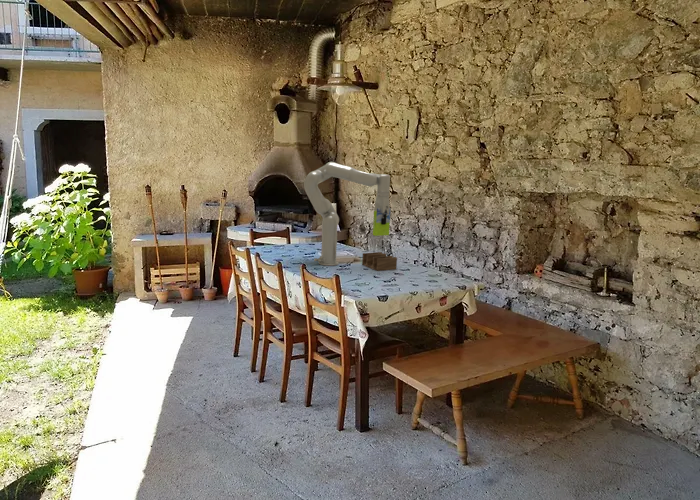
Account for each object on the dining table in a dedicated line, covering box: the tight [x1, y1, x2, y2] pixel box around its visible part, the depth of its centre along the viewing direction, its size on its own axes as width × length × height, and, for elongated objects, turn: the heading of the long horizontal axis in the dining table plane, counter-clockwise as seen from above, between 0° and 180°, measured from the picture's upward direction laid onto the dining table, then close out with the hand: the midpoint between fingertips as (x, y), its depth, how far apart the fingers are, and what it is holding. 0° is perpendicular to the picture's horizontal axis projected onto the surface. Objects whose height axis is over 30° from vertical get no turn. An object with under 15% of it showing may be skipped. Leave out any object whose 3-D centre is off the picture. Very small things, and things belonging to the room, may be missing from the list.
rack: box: [361, 251, 398, 272], centre depth 352 cm, size 18×14×8 cm
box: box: [372, 207, 392, 237], centre depth 347 cm, size 10×4×17 cm, turn 119°
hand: (381, 223), depth 348 cm, fingers closed on box, 4 cm apart
